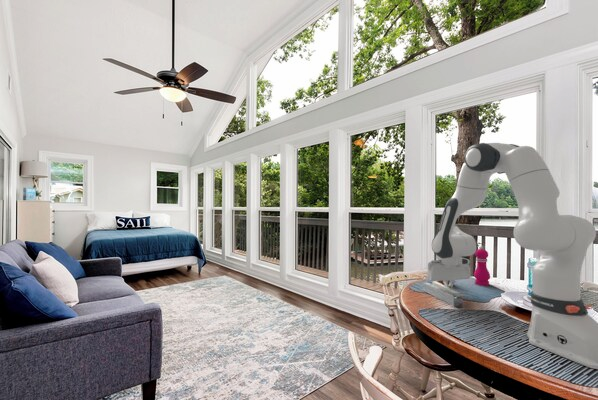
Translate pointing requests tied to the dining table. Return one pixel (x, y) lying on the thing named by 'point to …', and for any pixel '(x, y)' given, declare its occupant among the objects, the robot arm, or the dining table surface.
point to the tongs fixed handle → (443, 295)
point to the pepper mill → (481, 268)
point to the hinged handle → (448, 289)
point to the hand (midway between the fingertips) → (448, 289)
